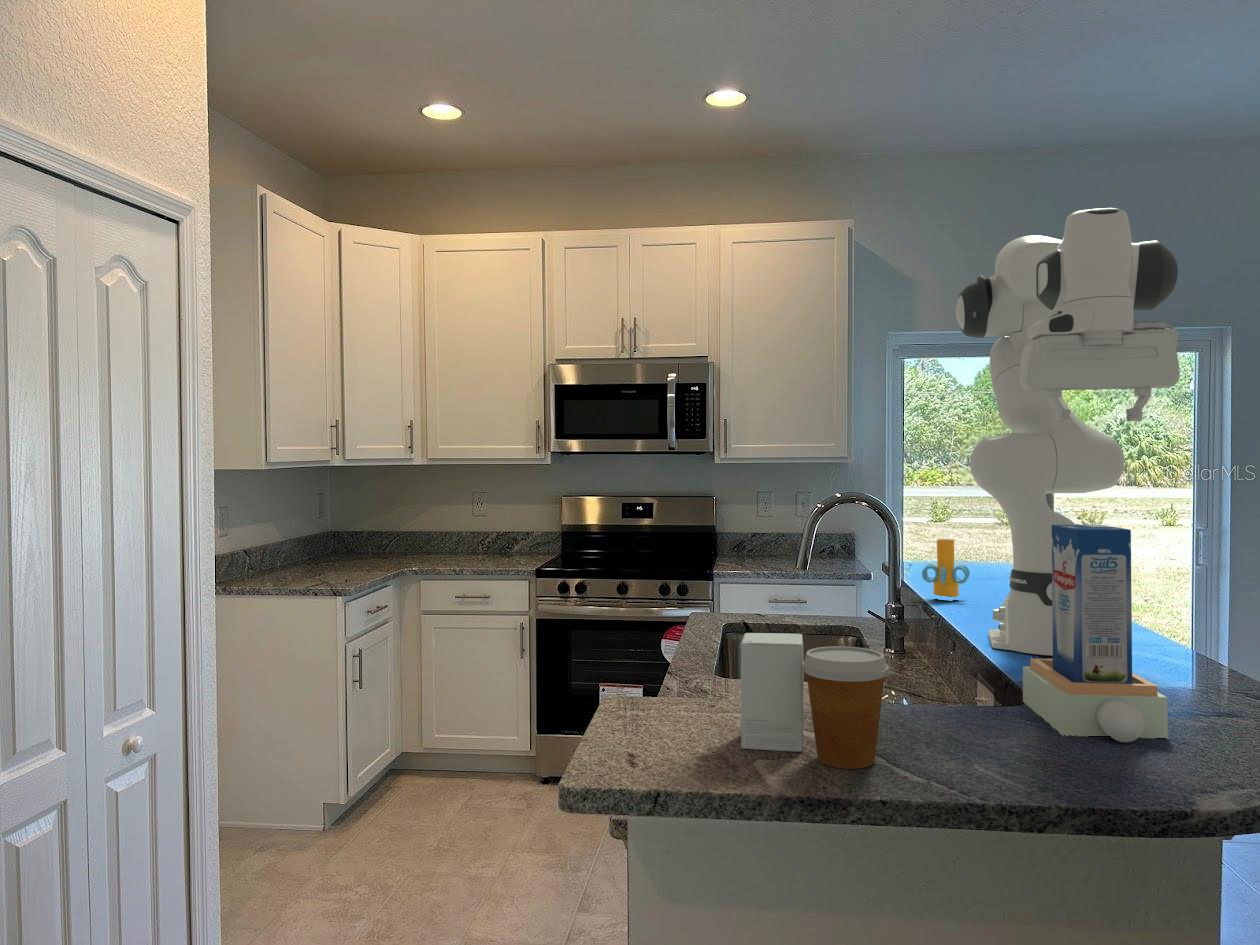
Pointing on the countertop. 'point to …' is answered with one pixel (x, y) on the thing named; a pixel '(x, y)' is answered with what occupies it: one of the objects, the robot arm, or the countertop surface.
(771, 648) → the supplement box
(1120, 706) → the framed green panel box
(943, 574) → the orange column with rings
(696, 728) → the countertop surface
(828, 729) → the disposable coffee cup
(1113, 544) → the milk carton
